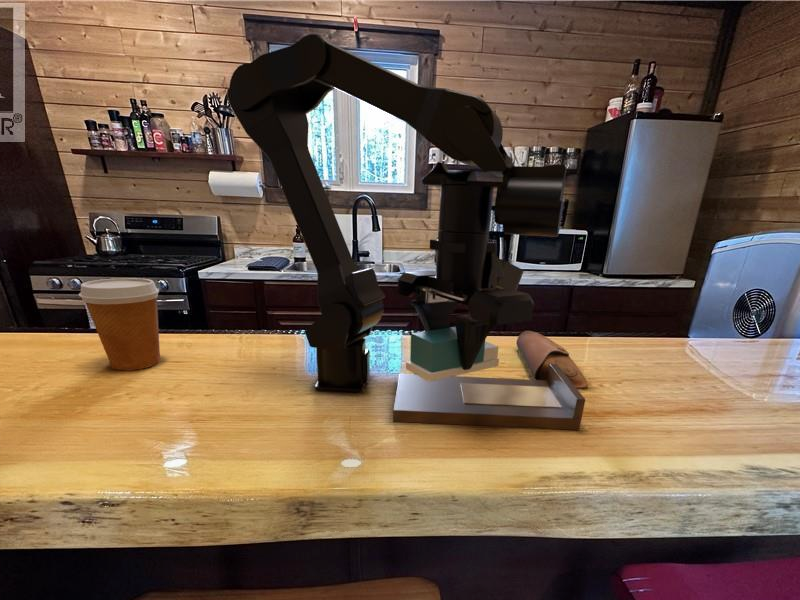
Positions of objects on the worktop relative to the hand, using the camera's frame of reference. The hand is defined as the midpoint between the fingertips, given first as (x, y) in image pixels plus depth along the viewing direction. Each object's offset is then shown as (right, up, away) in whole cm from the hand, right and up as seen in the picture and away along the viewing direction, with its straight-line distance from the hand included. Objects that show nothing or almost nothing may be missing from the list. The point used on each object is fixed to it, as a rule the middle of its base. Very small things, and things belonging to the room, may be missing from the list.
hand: (453, 362), depth 54 cm
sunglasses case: (+17, 0, +17) cm, 24 cm away
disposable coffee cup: (-47, 0, +11) cm, 48 cm away
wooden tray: (+4, -5, +2) cm, 7 cm away
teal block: (0, -1, 0) cm, 1 cm away
